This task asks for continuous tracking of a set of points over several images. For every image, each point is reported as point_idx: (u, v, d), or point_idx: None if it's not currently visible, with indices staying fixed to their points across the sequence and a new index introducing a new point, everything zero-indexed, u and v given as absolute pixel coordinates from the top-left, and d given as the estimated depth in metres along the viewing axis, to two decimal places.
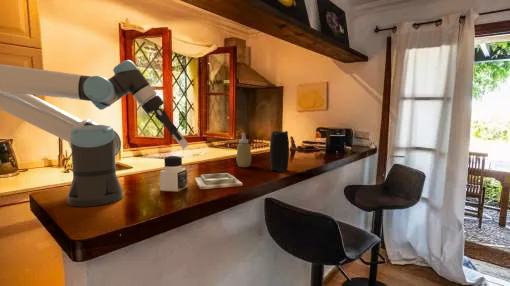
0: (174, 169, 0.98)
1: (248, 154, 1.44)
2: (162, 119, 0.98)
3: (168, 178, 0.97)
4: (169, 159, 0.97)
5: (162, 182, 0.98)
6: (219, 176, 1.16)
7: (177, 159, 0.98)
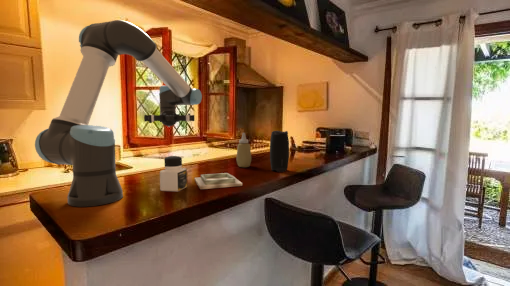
0: (174, 169, 0.98)
1: (248, 154, 1.44)
2: None
3: (168, 178, 0.97)
4: (169, 159, 0.97)
5: (162, 182, 0.98)
6: (219, 176, 1.16)
7: (177, 159, 0.98)
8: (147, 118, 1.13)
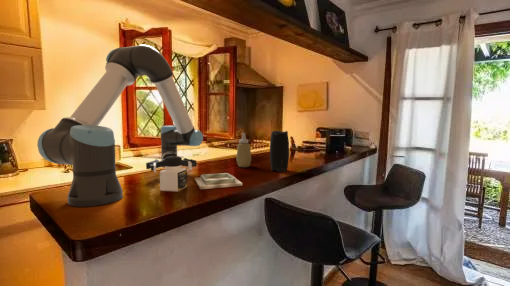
0: (174, 169, 0.98)
1: (248, 154, 1.44)
2: None
3: (168, 178, 0.97)
4: (169, 159, 0.97)
5: (162, 182, 0.98)
6: (219, 176, 1.16)
7: (177, 159, 0.98)
8: (149, 166, 1.12)
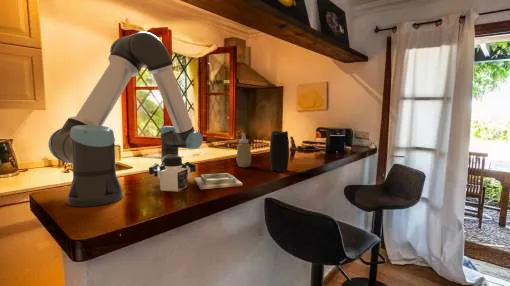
0: (174, 169, 0.98)
1: (248, 154, 1.44)
2: None
3: (168, 178, 0.97)
4: (169, 159, 0.97)
5: (162, 182, 0.98)
6: (219, 176, 1.16)
7: (177, 159, 0.98)
8: (152, 171, 1.01)
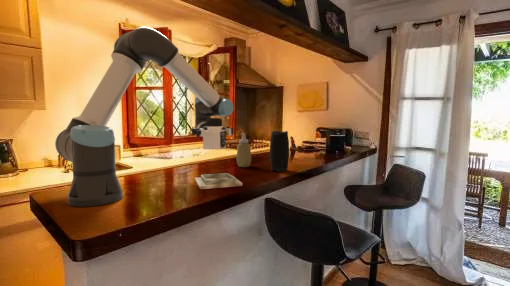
0: (216, 129, 1.06)
1: (248, 154, 1.44)
2: None
3: (211, 137, 1.05)
4: (212, 119, 1.05)
5: (205, 141, 1.06)
6: (219, 176, 1.16)
7: (219, 120, 1.06)
8: (195, 132, 1.09)
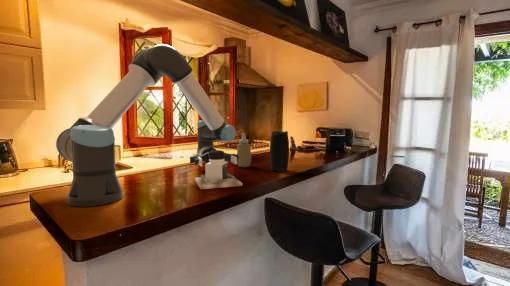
0: (218, 162, 1.07)
1: (248, 154, 1.44)
2: None
3: (213, 170, 1.07)
4: (214, 152, 1.07)
5: (207, 174, 1.07)
6: None
7: (221, 153, 1.08)
8: (193, 160, 1.10)
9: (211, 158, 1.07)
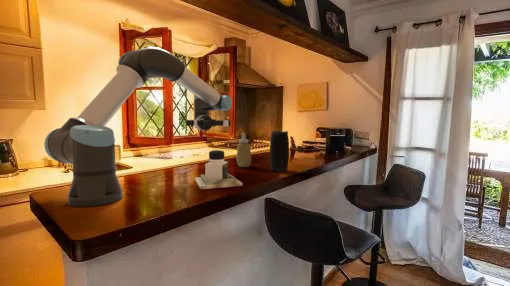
0: (218, 162, 1.07)
1: (248, 154, 1.44)
2: None
3: (213, 170, 1.07)
4: (214, 152, 1.07)
5: (207, 174, 1.07)
6: None
7: (221, 153, 1.08)
8: (189, 123, 1.22)
9: (211, 158, 1.07)
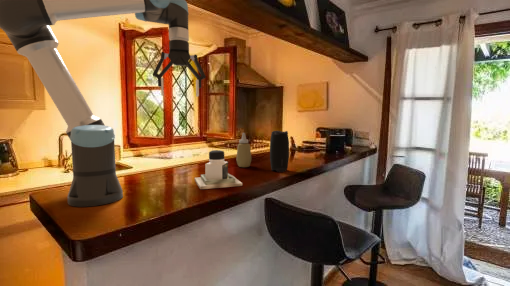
0: (218, 162, 1.07)
1: (248, 154, 1.44)
2: None
3: (213, 170, 1.07)
4: (214, 152, 1.07)
5: (207, 174, 1.07)
6: None
7: (221, 153, 1.08)
8: None
9: (211, 158, 1.07)
